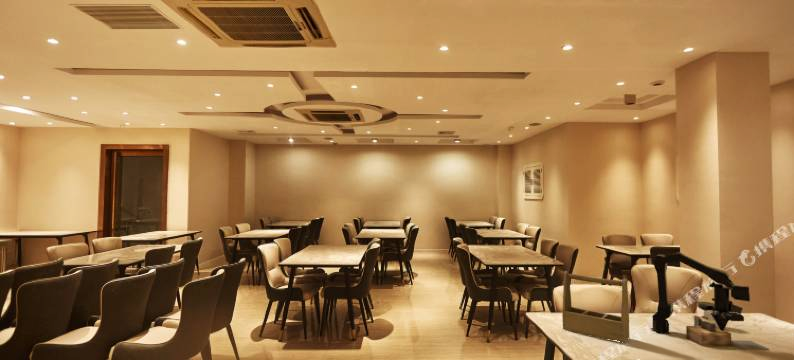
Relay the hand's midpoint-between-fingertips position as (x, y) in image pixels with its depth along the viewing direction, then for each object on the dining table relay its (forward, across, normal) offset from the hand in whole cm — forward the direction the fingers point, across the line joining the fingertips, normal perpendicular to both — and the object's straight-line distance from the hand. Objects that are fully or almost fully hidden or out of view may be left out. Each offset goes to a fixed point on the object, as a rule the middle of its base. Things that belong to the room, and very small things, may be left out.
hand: (722, 330), depth 191 cm
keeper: (+7, +13, 0) cm, 15 cm away
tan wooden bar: (0, +11, 0) cm, 11 cm away
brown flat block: (+7, +3, +4) cm, 8 cm away
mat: (+7, -1, -11) cm, 13 cm away
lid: (+3, +3, +4) cm, 6 cm away
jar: (+7, +27, -14) cm, 31 cm away
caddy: (+7, +13, +54) cm, 56 cm away
